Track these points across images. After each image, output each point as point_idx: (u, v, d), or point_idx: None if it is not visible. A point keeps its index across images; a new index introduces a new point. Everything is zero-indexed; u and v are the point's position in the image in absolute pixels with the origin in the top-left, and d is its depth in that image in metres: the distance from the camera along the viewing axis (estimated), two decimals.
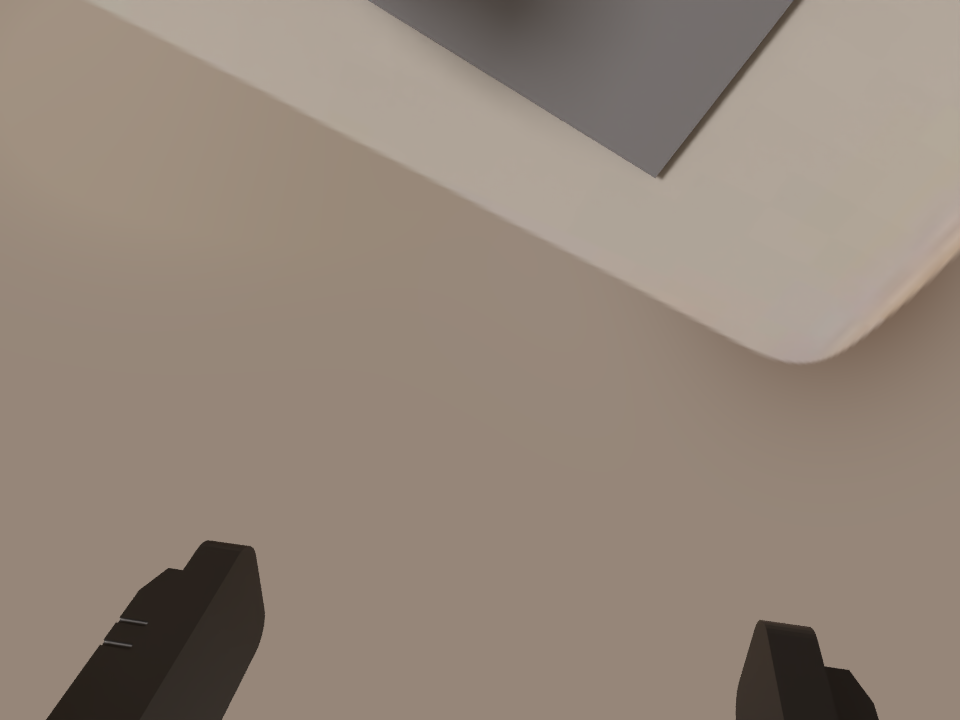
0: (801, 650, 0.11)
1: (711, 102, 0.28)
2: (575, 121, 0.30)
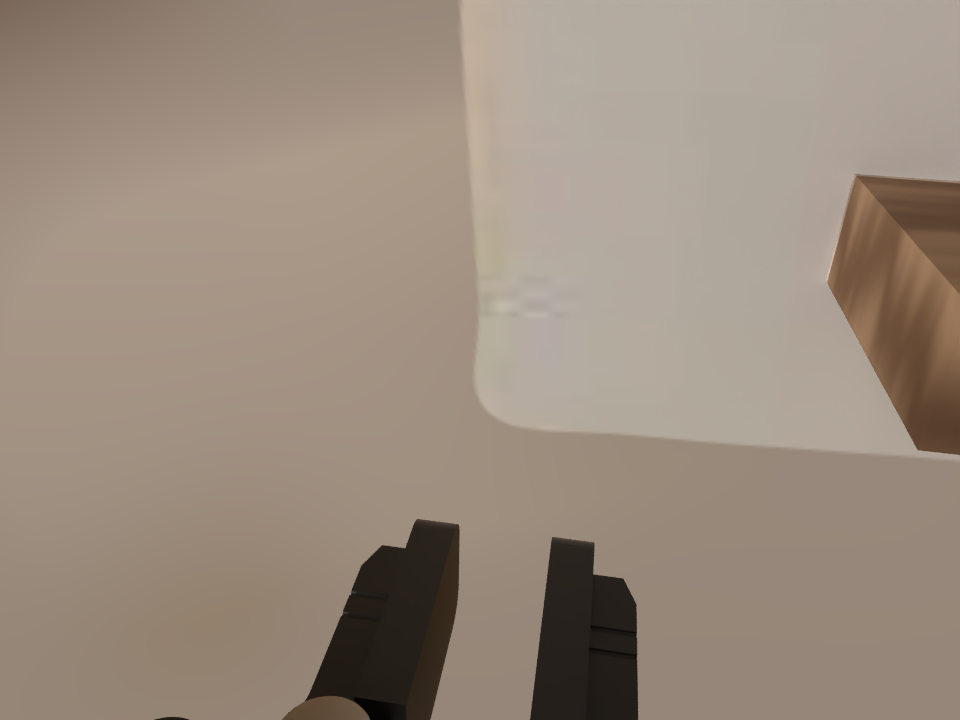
0: (576, 559, 0.12)
1: None
2: None
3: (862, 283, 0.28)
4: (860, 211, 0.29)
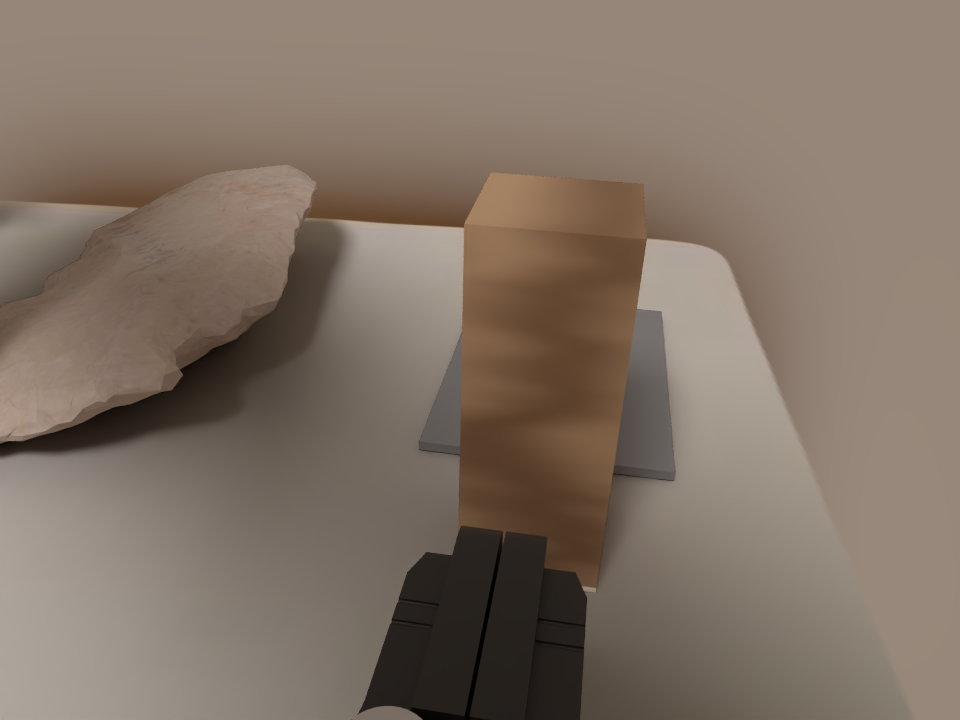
0: (528, 553, 0.12)
1: None
2: (659, 345, 0.38)
3: (553, 486, 0.23)
4: None
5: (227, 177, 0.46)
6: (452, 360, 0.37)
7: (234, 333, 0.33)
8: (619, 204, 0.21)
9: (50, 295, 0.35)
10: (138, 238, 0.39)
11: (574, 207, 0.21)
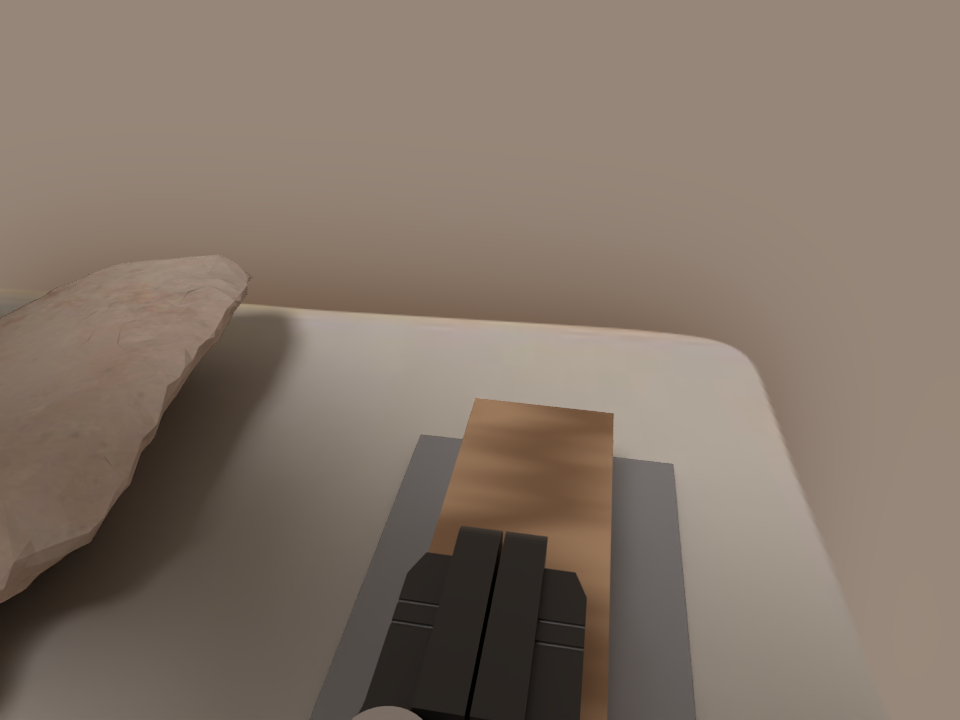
0: (528, 552, 0.12)
1: None
2: (672, 530, 0.27)
3: None
4: None
5: (128, 274, 0.34)
6: (371, 567, 0.25)
7: (11, 590, 0.20)
8: None
9: None
10: None
11: None
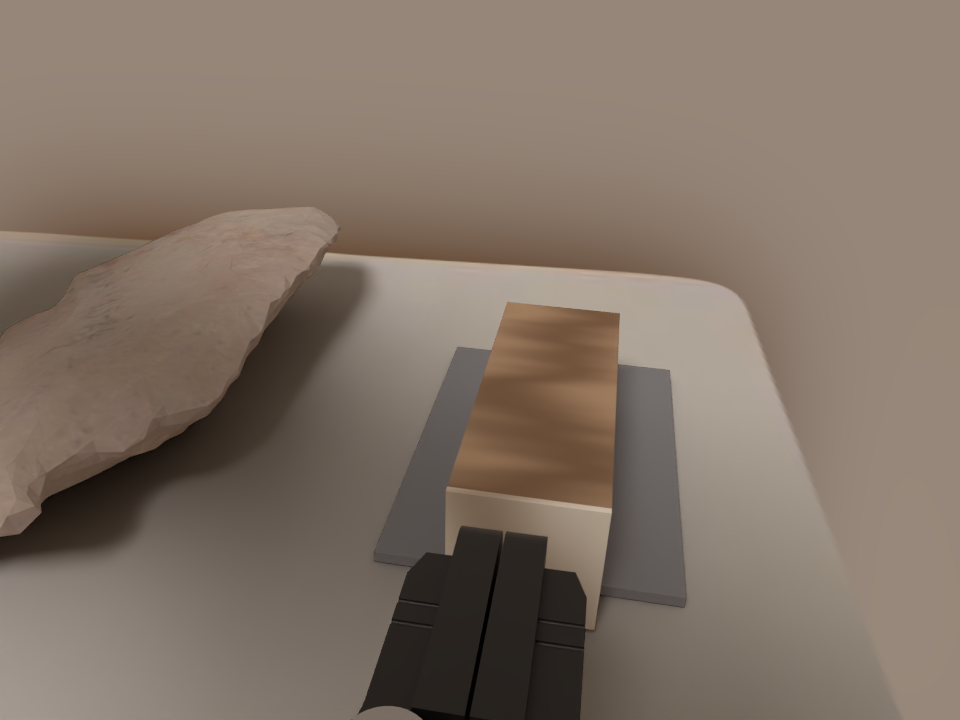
0: (528, 553, 0.12)
1: None
2: (667, 415, 0.33)
3: (561, 420, 0.24)
4: (488, 455, 0.23)
5: (238, 219, 0.39)
6: (422, 436, 0.31)
7: (147, 445, 0.26)
8: None
9: None
10: (102, 294, 0.33)
11: None
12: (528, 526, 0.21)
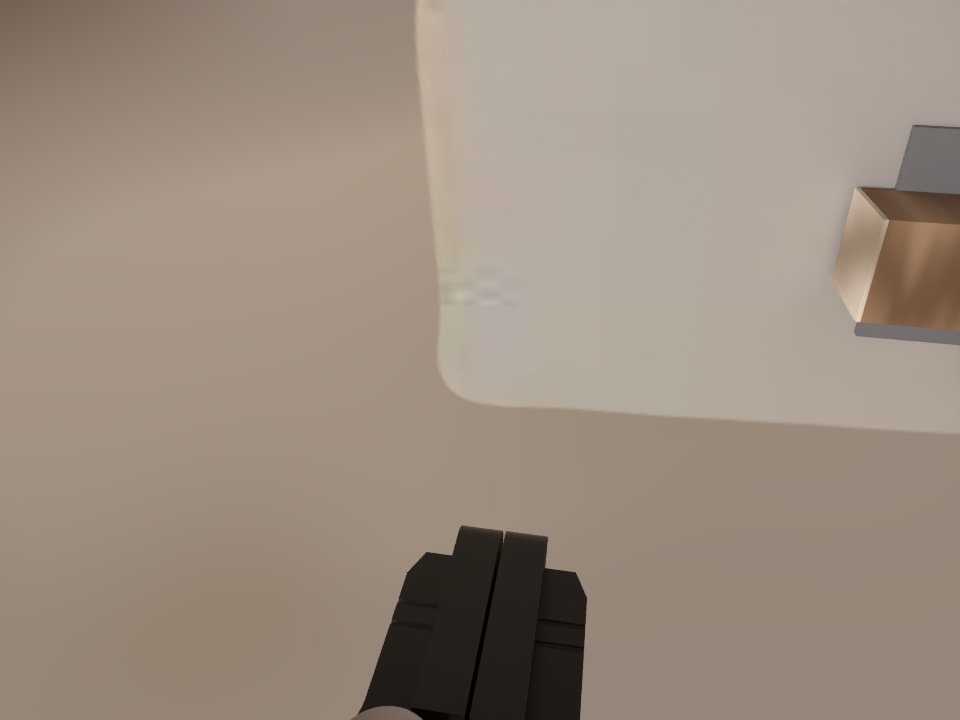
0: (528, 553, 0.12)
1: None
2: None
3: None
4: (925, 244, 0.31)
5: None
6: None
7: None
8: None
9: None
10: None
11: None
12: (863, 266, 0.33)
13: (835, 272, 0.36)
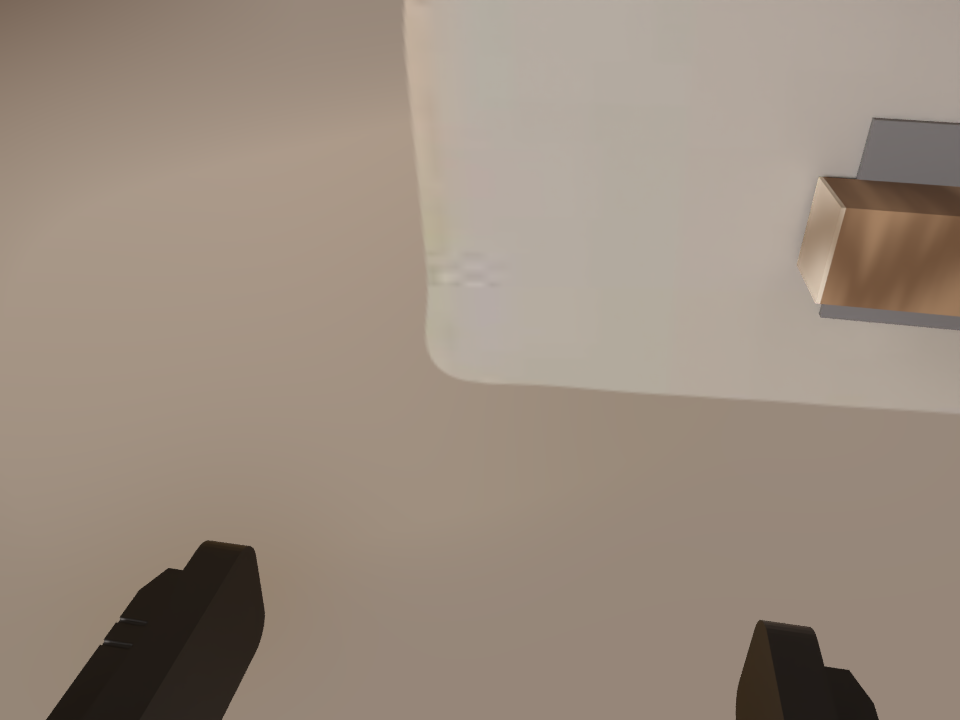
0: (801, 650, 0.11)
1: None
2: None
3: (922, 277, 0.34)
4: (880, 230, 0.33)
5: None
6: None
7: None
8: None
9: None
10: None
11: None
12: (823, 251, 0.35)
13: (800, 257, 0.39)
